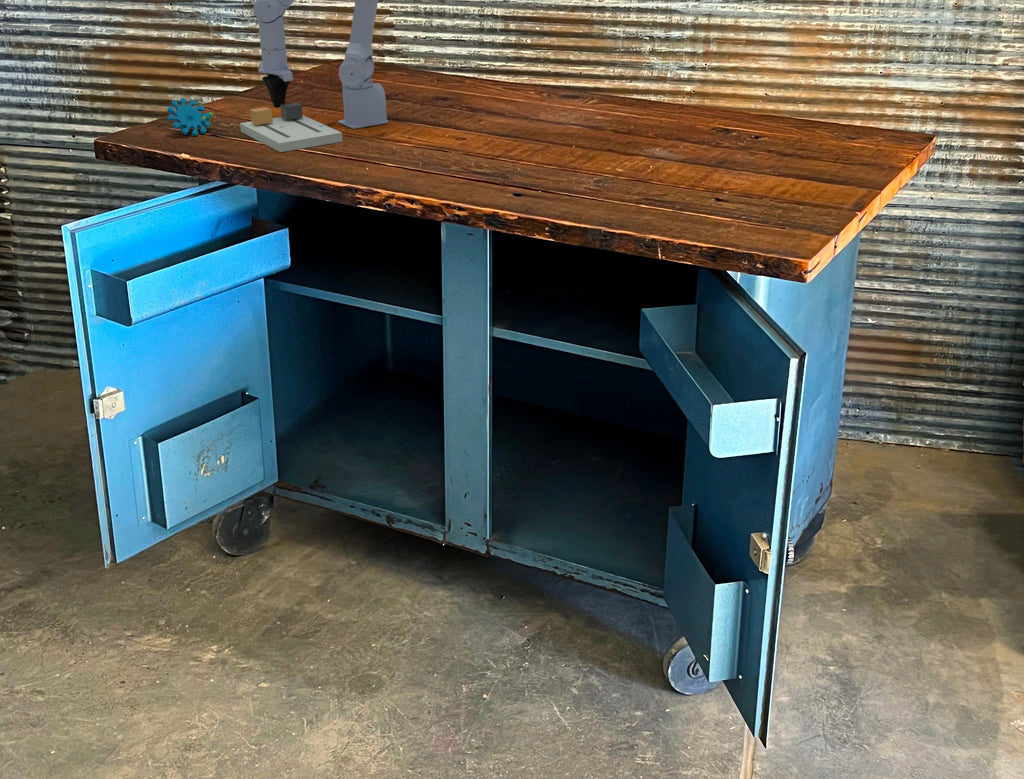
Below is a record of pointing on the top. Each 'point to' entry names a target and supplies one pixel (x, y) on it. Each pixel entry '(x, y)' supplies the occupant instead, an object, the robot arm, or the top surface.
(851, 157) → the top surface
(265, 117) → the tan fader
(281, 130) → the fader panel
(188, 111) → the gear
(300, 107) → the black fader
